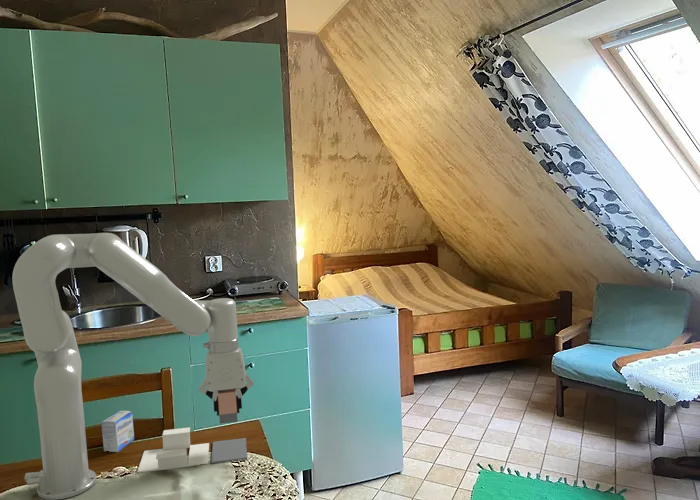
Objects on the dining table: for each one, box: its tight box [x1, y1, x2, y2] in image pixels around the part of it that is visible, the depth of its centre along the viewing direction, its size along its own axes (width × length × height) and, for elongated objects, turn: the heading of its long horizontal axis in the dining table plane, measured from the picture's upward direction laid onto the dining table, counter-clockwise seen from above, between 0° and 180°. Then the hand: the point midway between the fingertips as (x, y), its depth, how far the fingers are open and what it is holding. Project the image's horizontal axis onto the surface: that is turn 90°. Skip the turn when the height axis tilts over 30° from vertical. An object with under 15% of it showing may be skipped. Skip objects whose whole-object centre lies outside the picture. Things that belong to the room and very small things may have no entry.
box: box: [217, 389, 238, 424], centre depth 147 cm, size 4×6×8 cm
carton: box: [137, 426, 210, 474], centre depth 145 cm, size 17×16×4 cm
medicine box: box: [101, 410, 135, 453], centre depth 153 cm, size 8×4×9 cm, turn 169°
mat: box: [211, 437, 248, 465], centre depth 148 cm, size 9×12×1 cm
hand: (228, 411), depth 147 cm, fingers closed on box, 4 cm apart
